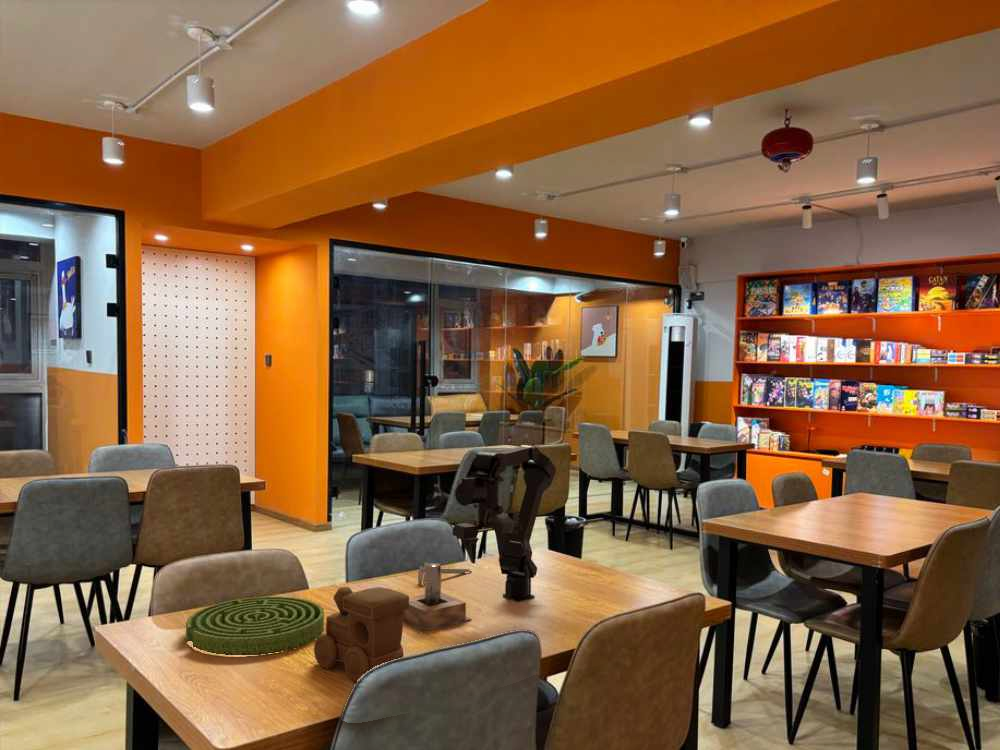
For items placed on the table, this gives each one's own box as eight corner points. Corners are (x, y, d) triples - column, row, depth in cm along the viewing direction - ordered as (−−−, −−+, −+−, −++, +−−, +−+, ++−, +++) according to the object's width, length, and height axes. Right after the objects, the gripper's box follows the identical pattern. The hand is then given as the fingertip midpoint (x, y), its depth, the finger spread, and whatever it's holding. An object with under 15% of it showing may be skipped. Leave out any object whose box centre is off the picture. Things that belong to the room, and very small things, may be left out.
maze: (167, 631, 186) (167, 610, 186) (289, 606, 206) (289, 587, 206) (213, 670, 162) (214, 646, 162) (347, 638, 182) (347, 616, 182)
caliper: (420, 585, 226) (420, 563, 226) (417, 584, 227) (418, 563, 227) (472, 573, 240) (473, 552, 240) (470, 572, 241) (470, 552, 241)
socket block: (439, 606, 206) (439, 589, 206) (471, 620, 195) (471, 602, 195) (393, 616, 197) (393, 599, 197) (423, 631, 186) (424, 613, 186)
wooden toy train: (412, 674, 161) (413, 593, 161) (368, 691, 152) (369, 606, 152) (351, 650, 174) (352, 575, 174) (308, 664, 165) (308, 586, 165)
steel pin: (434, 613, 199) (435, 562, 198) (443, 617, 196) (444, 565, 195) (421, 616, 196) (421, 565, 196) (430, 620, 193) (430, 568, 193)
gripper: (477, 509, 190) (477, 572, 190) (535, 501, 202) (535, 561, 202) (451, 502, 199) (451, 563, 199) (508, 495, 211) (508, 553, 211)
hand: (487, 560), depth 203 cm, fingers open, 9 cm apart
